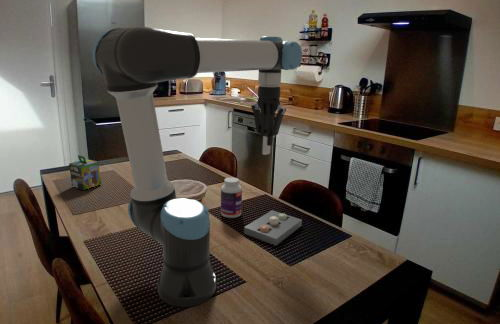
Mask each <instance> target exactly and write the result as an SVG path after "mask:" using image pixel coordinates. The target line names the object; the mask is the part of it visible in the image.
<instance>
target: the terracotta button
mask: <svg viewBox="0 0 500 324" xmlns="http://www.w3.org/2000/svg"><path fill="white" fill-rule="evenodd" d="M260 231H261V232H263V233H268V232H269V226H267V225H261V226H260Z"/></svg>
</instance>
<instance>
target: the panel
mask: <svg viewBox="0 0 500 324" xmlns="http://www.w3.org/2000/svg"><path fill="white" fill-rule="evenodd" d="M279 214H281V212H278V211H277V210H276V211H275V210H274V209H272V210H270V211H268V212H267V213H265V214H264V215H262V216H260V217H259V218H256V219H255V220H254V221H252V222H250V223H249V224H246V225H245V226H244V228H243V234H245V235H246V236H249V237H252V238H255V239H257V240H259V239H260V241H262V242H265V243H268V244H270V245H272V244H273V245H272V246H278V245H279V244H280V243H282V242H283V241H284V240H285V239H286V238H288V237H289V236H290V235H292V234H293V233H294V232H296V231H297V230H298V229H299V228H301V227H302V222H303V219H300V218H298V217H294V216H292V215H288V214H286V215H287V220H285V221H283V220H280V219H279V222H278V226H277V227H274V226H271V225H269V221H270V217H272V216H276V217H278V215H279ZM261 225H267V226H269V232H268V233H263V232H261V231H260V226H261Z"/></svg>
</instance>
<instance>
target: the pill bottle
mask: <svg viewBox="0 0 500 324" xmlns="http://www.w3.org/2000/svg"><path fill="white" fill-rule="evenodd" d="M239 183H240V179H239V178H237V177H226V178H224V183H223V184H222V186H221V188H220V213H221V216H223V217H224V218H227V219H236V218H238V217H240V216H241V214H242V208H243V207H242V205H243V202H242V201H243V187H242V186H241V185H240V184H239Z"/></svg>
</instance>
